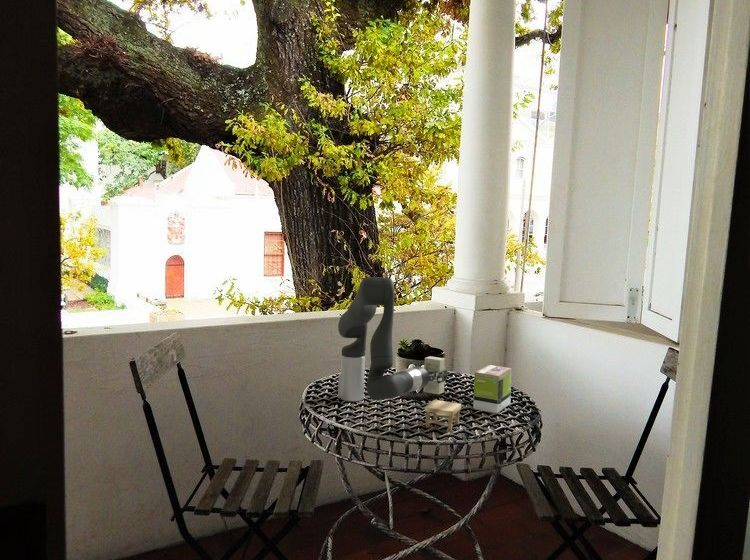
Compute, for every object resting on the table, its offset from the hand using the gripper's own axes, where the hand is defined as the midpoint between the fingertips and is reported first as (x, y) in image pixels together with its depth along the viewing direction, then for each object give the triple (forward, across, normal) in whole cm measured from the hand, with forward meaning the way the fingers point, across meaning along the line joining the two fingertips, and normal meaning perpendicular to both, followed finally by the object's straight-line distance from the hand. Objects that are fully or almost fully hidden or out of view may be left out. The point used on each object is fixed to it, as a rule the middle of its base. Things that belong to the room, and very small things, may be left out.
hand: (437, 371), depth 226 cm
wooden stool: (-2, -4, +18) cm, 19 cm away
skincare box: (-2, 0, +7) cm, 8 cm away
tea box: (+30, -7, +18) cm, 36 cm away
